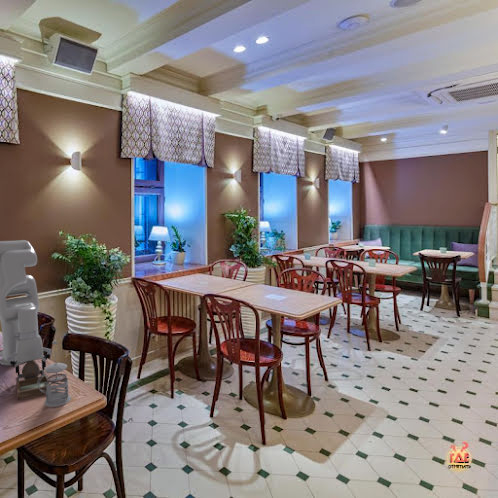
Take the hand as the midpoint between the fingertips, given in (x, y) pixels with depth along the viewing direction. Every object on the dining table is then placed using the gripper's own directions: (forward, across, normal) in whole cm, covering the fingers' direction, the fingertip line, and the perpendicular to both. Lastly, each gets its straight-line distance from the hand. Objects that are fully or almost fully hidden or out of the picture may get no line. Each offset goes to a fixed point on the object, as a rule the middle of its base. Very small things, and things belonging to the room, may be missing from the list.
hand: (31, 371), depth 168 cm
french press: (+4, +7, -26) cm, 28 cm away
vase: (+4, 0, 0) cm, 4 cm away
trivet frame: (+4, 0, 0) cm, 4 cm away
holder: (+4, 0, -12) cm, 13 cm away
